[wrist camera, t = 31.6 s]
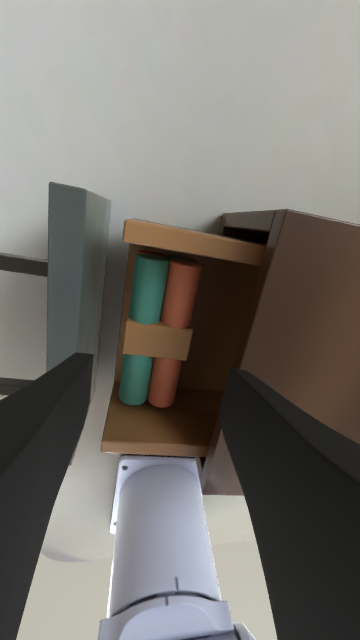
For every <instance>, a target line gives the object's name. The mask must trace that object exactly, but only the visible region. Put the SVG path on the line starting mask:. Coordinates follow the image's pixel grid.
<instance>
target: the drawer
mask: <svg viewBox="0 0 360 640" xmlns="http://www.w3.org/2000/svg"><path fill="white" fill-rule="evenodd" d="M110 208H111V201H110V200H108V199H106V198H104V197H102V196H99V195H97V194H95V193H93V192H91V191H88V190H86V189H83V188H79V187H74V186H69V185H64V184H59V183H54V182H49V209H48V260H44V259H38V258H31V257H25V256H19V255H12V254H6V253H0V270H4V271H11V272H18V273H24V274H31V275H38V276H45V277H48V290H47V371H46V373H47V372H48V371H50V370H51V369H53V368H54V367H55V366H57V365H58V364H60V363H61V362H63V361H64V360H65V359H67V358H68V357H70V356H71V355H73V354H74V353H76V352H78V353H88V354H94V357H93V370H92V382H91V395H90V403H91V400H92V396H93V393H94V390H95V382H96V370H97V359H98V347H99V336H100V324H101V312H102V301H103V289H104V277H105V266H106V254H107V242H108V231H109V219H110ZM123 241H124V242H127V243H130V245H129V253H128V262H127V271H126V280H125V289H124V298H123V306H122V315H121V324H120V333H119V342H118V350H117V359H116V368H115V377H114V384H113V389H112V394H111V398H110V403H109V408H108V413H107V417H106V422H105V427H104V432H103V437H102V442H101V452H102V453H122V454H144V455H166V456H189V457H207V453H208V449H209V446H210V442H211V439H212V435H213V432H214V428H215V425H216V421H217V418H218V414H219V413H218V411H219V407H220V403H221V400H222V396H223V393H224V389H225V386H226V382H227V379H228V375H229V372H230V368H232V365H233V361H234V358H235V354H236V351H237V347H238V344H239V340H240V337H241V333H242V330H243V326H244V323H245V319H246V316H247V312H248V308H249V305H250V301H251V298H252V294H253V291H254V287H255V284H256V280H257V277H258V273H259V270H260V266H261V263H262V259H263V256H264V252H265V249H266V245H267V244H263V243H258V242H252V241H247V240H242V239H237V238H232V237H226V236H221V235H216V234H211V233H206V232H200V231H195V230H190V229H185V228H180V227H174V226H169V225H164V224H159V223H154V222H148V221H143V220H138V219H127V220H125V221H124V231H123ZM138 250H149V251H155V252H159V253H163V254H166V255H167V256H168V255H178V256H183V257H188V258H192V259H194V260H196V261H197V262H196V263H197V264H200V265H201V266H202V270H201V275H200V280H199V285H198V289H197V294H196V299H195V304H194V308H193V313H192V318H191V326H192V328H193V334H192V339H191V343H190V348H189V353H188V357H187V360H186V361H185V360H183V361H182V366H181V370H180V375H179V380H178V385H177V389H176V394H175V399H174V402H173V404H172V405H171V406H169V407H164V408H161V407H156V406H154V405H152V404H151V403H149V401H148V399H146V401H145V402H144V403H142V404H140V405H128V404H125V403H123V402H122V401H121V400H120V398H119V389H120V381H121V373H122V365H123V357H124V354H122V349H123V340H124V332H125V324H126V318H127V314H128V309H129V305H130V300H131V292H132V284H133V276H134V268H135V260H136V255H137V251H138ZM33 381H35V380H24V379H12V378H0V395H11V394H13V393H15V392H16V391H18V390H20V389H21V388H23V387H25V386H26V385H28V384H30V383H31V382H33ZM89 406H90V404H89ZM88 409H89V407H88ZM87 412H88V411H87ZM86 416H87V415H86ZM78 441H79V440H78ZM77 444H78V443H77ZM76 448H77V445H76ZM76 448H75V451H76ZM75 451H74V453H73V456H72V458H71V461H70V463H69V466H70V465H71V464H72V460H73V457H74V454H75Z"/></svg>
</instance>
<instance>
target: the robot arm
mask: <svg viewBox="0 0 360 640" xmlns="http://www.w3.org/2000/svg"><path fill="white" fill-rule="evenodd" d="M93 357H94V354H88V353H78V352H76V353H74V354H73V355H71V356H70V357H68V358H67V359H65V360H64V361H63V362H61V363H60V364H58V365H57V366H55V367H54V368H53V369H51V370H50V371H48V372H47V373H45V374H44V375H42V376H41V377H39V378H38V379H36V380H35V381H33V382H31V383H30V384H28V385H26V386H25V387H23V388H21V389H20V390H18V391H16V392H15V393H13V394H11V395H9V396H8V397H6V398H4V399H2V400H0V640H16V637H17V634H18V630H19V626H20V623H21V619H22V615H23V611H24V608H25V604H26V600H27V597H28V593H29V590H30V586H31V582H32V579H33V575H34V572H35V568H36V565H37V561H38V558H39V554H40V551H41V547H42V544H43V540H44V537H45V533H46V530H47V526H48V523H49V519H50V516H51V513H52V509H53V506H54V503H55V500H56V497H57V495H58V492H59V489H60V486H61V484H62V481H63V479H64V476H65V474H66V471H67V468H68V466H69V463H70V461H71V458H72V456H73V453H74V451H75V448H76V445H77V443H78V440H79V438H80V435H81V432H82V430H83V427H84V423H85V419H86V415H87V411H88V407H89V404H90V395H91V382H92V370H93ZM218 413H219V418H220V423H221V428H222V432H223V437H224V440H225V443H226V445H227V448H228V451H229V454H230V457H231V460H232V463H233V465H234V468H235V471H236V474H237V477H238V480H239V482H240V485H241V488H242V491H243V494H244V497H245V500H246V503H247V506H248V509H249V513H250V517H251V521H252V525H253V529H254V533H255V537H256V541H257V545H258V549H259V554H260V558H261V563H262V567H263V571H264V576H265V580H266V585H267V589H268V594H269V599H270V604H271V609H272V613H273V618H274V624H275V628H276V633H277V639H278V640H360V444H358V443H356V442H355V441H353V440H351V439H349V438H347V437H346V436H344V435H342V434H340V433H339V432H337V431H335V430H333V429H332V428H330V427H328V426H327V425H325V424H323V423H322V422H320V421H319V420H317V419H315V418H314V417H312V416H311V415H309V414H308V413H306V412H305V411H303V410H302V409H300V408H299V407H297V406H296V405H295V404H293V403H292V402H290V401H289V400H288V399H286V398H285V397H283V396H282V395H281V394H279V393H278V392H276V391H275V390H274V389H272V388H271V387H270V386H268V385H267V384H266V383H264V382H263V381H261V380H260V379H259V378H257V377H256V376H254V375H253V374H251V373H250V372H248V371H246V370H241V369H231V368H230V372H229V375H228V379H227V382H226V386H225V389H224V393H223V396H222V400H221V403H220V407H219V411H218ZM202 497H203V495H202V491H201V486H200V480H199V475H198V470H197V465H196V460H195V458H175V457H152V456H129V455H125V456H122V457H121V458H120V460H119V467H118V474H117V481H116V489H115V496H114V503H113V510H112V518H111V525H110V532H111V533H112V534H115V543H114V552H113V562H112V571H111V581H110V590H109V600H108V610H107V618H106V619H102V620H101V621H100V626H99V634H98V640H256V639H255V637H254V636H253V635H252V634H251V633H250V632H249V631H248V629H247V627H246V626H245V625H244V624H243V623H242V622H235V623H233V621H232V616H231V611H230V607H229V602H228V601H222V600H221V594H220V589H219V584H218V579H217V574H216V569H215V563H214V558H213V553H212V548H211V542H210V537H209V532H208V527H207V521H206V516H205V511H204V506H203V501H202Z"/></svg>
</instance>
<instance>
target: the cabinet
mask: <svg viewBox="0 0 360 640" xmlns="http://www.w3.org/2000/svg"><path fill="white" fill-rule="evenodd" d="M219 235H221V236H226V237H232V238H237V239H242V240H247V241H252V242H258V243H263V244H267V245H266V249H265V252H264V256H263V259H262V263H261V266H260V270H259V273H258V277H257V280H256V284H255V287H254V291H253V294H252V298H251V301H250V305H249V308H248V312H247V316H246V319H245V323H244V326H243V330H242V333H241V337H240V340H239V344H238V347H237V351H236V354H235V358H234V361H233V365H232V368H231V369H241V370H246V371H248V372H250V373H251V374H253V375H254V376H256V377H257V378H259V379H260V380H261V381H263V382H264V383H266V384H267V385H268V386H270V387H271V388H272V389H274V390H275V391H276V392H278V393H279V394H281V395H282V396H283V397H285V398H286V399H288V400H289V401H290V402H292V403H293V404H295V405H296V406H297V407H299V408H300V409H302V410H303V411H305V412H306V413H308V414H309V415H311V416H312V417H314V418H315V419H317V420H319V421H320V422H322V423H323V424H325V425H327V426H328V427H330V428H332V429H333V430H335V431H337V432H339V433H340V434H342V435H344V436H346V437H347V438H349V439H351V440H353V441H355V442H356V443H358V444H360V225H358V224H354V223H349V222H344V221H340V220H335V219H331V218H326V217H322V216H317V215H313V214H308V213H303V212H299V211H294V210H290V209H280V210H267V211H251V212H235V213H224V214H223V217H222V221H221V226H220V230H219ZM195 460H196V465H197V470H198V475H199V480H200V486H201V491H202V495H234V496H244V494H243V491H242V488H241V485H240V482H239V480H238V477H237V474H236V471H235V468H234V465H233V463H232V460H231V457H230V454H229V451H228V448H227V445H226V443H225V440H224V437H223V432H222V428H221V423H220V418H219V414H218V418H217V421H216V425H215V428H214V432H213V435H212V439H211V442H210V446H209V449H208V453H207V457H195Z"/></svg>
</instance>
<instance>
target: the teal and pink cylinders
mask: <svg viewBox="0 0 360 640" xmlns="http://www.w3.org/2000/svg"><path fill="white" fill-rule="evenodd" d="M196 262H197V261H196V260H194V259H192V258H188V257H183V256H178V255H168V256H167V255H166V254H163V253H159V252H155V251H149V250H138V251H137V255H136V260H135V268H134V276H133V284H132V292H131V300H130V305H129V309H128V314H127V318H126V324H125V332H124V340H123V349H122V354H124V357H123V365H122V373H121V381H120V389H119V398H120V400H121V401H122V402H123V403H125V404H128V405H140V404H142V403H144V402H145V401H146V399H148V401H149V403H151V404H152V405H154V406H156V407H161V408H164V407H169V406H171V405H172V404H173V402H174V399H175V394H176V389H177V385H178V380H179V375H180V370H181V366H182V361H183V360H185V361H186V360H187V357H188V353H189V348H190V343H191V339H192V334H193V328H192V326H191V318H192V313H193V308H194V304H195V299H196V294H197V289H198V285H199V280H200V275H201V270H202V266H201V265H200V264H197V263H196Z"/></svg>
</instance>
